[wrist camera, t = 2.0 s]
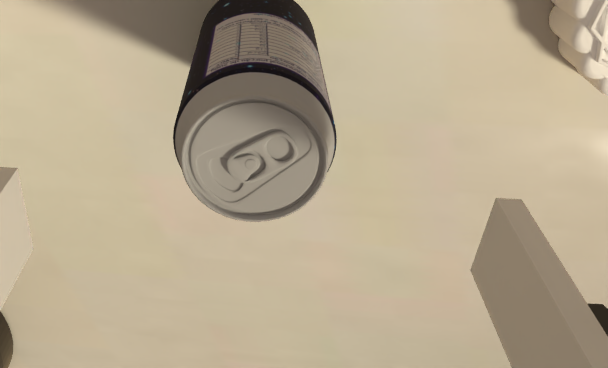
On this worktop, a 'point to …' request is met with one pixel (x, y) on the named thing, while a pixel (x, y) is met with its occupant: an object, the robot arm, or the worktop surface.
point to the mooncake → (583, 37)
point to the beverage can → (255, 112)
